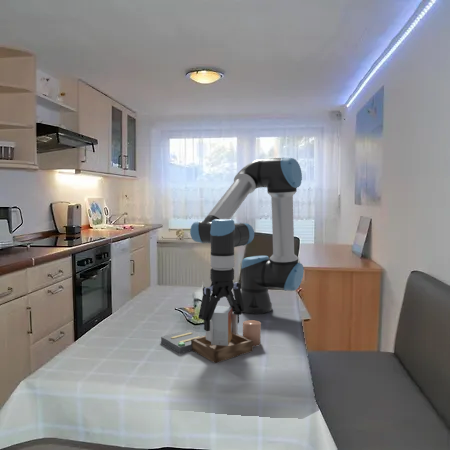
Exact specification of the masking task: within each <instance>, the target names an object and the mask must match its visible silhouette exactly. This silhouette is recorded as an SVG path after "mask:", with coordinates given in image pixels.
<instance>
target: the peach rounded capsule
mask: <svg viewBox="0 0 450 450" xmlns="http://www.w3.org/2000/svg"><path fill="white" fill-rule="evenodd" d="M261 325H262V323H261V322H260V321H259V320H255V319H254V320H253V319H250V320H244V321H243V322H242V336H243V337H246V338H248V339H250V340H253V347H259V346H260V345H261V332H262V331H261V328H262V326H261Z"/></svg>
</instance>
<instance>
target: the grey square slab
mask: <svg viewBox="0 0 450 450" xmlns="http://www.w3.org/2000/svg"><path fill="white" fill-rule="evenodd" d="M202 336H204V335H203V334H201V333H199V332H197V331H195V330H193V329H188V330H186V329H185V330H183V331H179V332H175V333H171V334H167V335H162V336H161V337H160V340H161V341H160V342H161V344H163V345H165V346H166V347H168V348H170V349H172V350H173V351H175V352H177V353H178V354H183V353H186V352H191V351H192V344H191V339H194V338H198V337H202Z"/></svg>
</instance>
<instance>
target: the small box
mask: <svg viewBox="0 0 450 450" xmlns="http://www.w3.org/2000/svg"><path fill="white" fill-rule="evenodd" d="M233 313H234V312H233V308H232V307H230V306H227V305H226V306H224V305H216V308H215V310H214V313H213V315H212V318H211V320H212V321H213V341H212V342H211V345H222V346H228V345H229V343H230V341H231V339H232V315H233Z"/></svg>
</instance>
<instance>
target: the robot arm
mask: <svg viewBox="0 0 450 450" xmlns="http://www.w3.org/2000/svg"><path fill="white" fill-rule="evenodd" d="M302 175H303V172H302V168H301V165H300V163H299V162H298V161H297V159H295V158H294V157H277V158H276V157H275V158H273V157H272V158H259V159H255V160H252V161H251V162H249V163H248V164H246V165H245V166H244V167H242V168H241V169H240V170H239V171H238V172H237V173H236V175H235V176H234V178H233V182H232V183H231V185H230V186H229V187H228V189H227V190H226V192H225V193H224V194H223V195H222V196H221V198H220V199H219V200H218V202H217V203H216V204H215V206H214V207H213V208H212V209H211V210H210V212H209V213H208V214H207V216H206V217H205V218H204V219H203V220H202V221H201V220H199V221H194V222H193V223H192V224H191V226H190V231H189V233H190V234H189V235H190V237H191V239H192V240H193V241H194V242H195V243H201V244H210V281H211V282H210V283H211V284H210V286H208V287H205V286H203V287H202V297H201V303H200V307H199V313H198V319H200V320H202V321H203V329H204V331H205V335H206V340H208V341H210V342H212V341H213V321H212V320H211V318H212V315H213V313H214V310H215V308H216V306H218V303H219V301H220V300H221V299H222V298H224V297H225V299H226V301H227V303H228V305H229V307H232V308H233V315H232V333H233V334H235V335H237V334H239V333H238V332H239V331H238V330H239V329H238V328H239V327H238V325H239V323H240V315H242V313H245V314H253V315H255V314H257V315H258V314H261V315H262V314H266V313H267V314H268V313H270V312H272V310H273V303H272V302H271V298H270V293H269V289H275V290H276V289H277V290H282V291H291V292H294V291H296V290H297V289H298V288H300V286H301V284H302V282H303V278H304V273H305V271H304V269H305V267H304V265H303V263H301V262H299V257H298V255H296V254H295V238H294V237H295V236H294V235H295V232H294V231H295V230H294V229H295V228H294V227H295V225H294V224H295V223H294V195H295V194H297V188H299V187H301V185H302V180H303V176H302ZM259 188H260V189H261V188H267V194H269V196H270V197H271V221H272V222H271V223H272V224H271V225H272V226H271V227H272V228H271V229H272V254H271V256H270V257H269V256H268V255H253V256H248V257H245V258H243V259H242V261H241V268H240V269H241V270H240V271H241V275H240V276H241V278H240V279H241V282H238V281H234V280H235V268H234V267H235V248H237V247H240V246H242V247H243V246H246V245H248V244H251V243H252V241H253V240H254V237H255V229H254V228H253V226H252V225H251V224H250V223H247V222H239V223H236V222H235V221H234V220H233V219H232V218H233V216H234V215H235V213H237V210H238V209H239V208H240V207H241V205H242V204H243V203H244V201H245V200H246V198H248V196H249V194H252V193H253V192H254V191H255V190H256V189H259Z"/></svg>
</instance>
